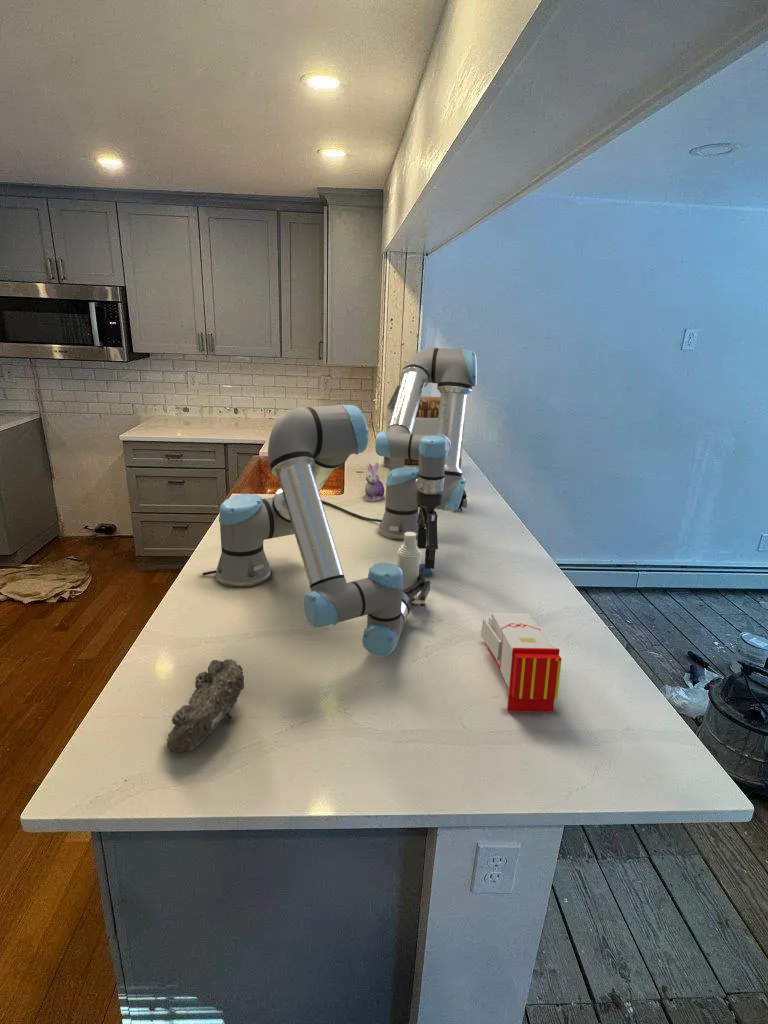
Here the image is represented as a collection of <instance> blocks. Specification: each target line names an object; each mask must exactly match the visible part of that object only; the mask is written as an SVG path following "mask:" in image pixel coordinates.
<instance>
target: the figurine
mask: <svg viewBox="0 0 768 1024" xmlns="http://www.w3.org/2000/svg"><path fill="white" fill-rule="evenodd" d="M378 469H379V462H376V463H374V466H372V464H371V463H367V473H366V475H365V480H366V484H365V487H364V492H365V494H364V499H365V501H367V502H379V501H381V500H384V497H385V486H384V484H383V482H382V481H381V480H380V475H379V473H378Z"/></svg>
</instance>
